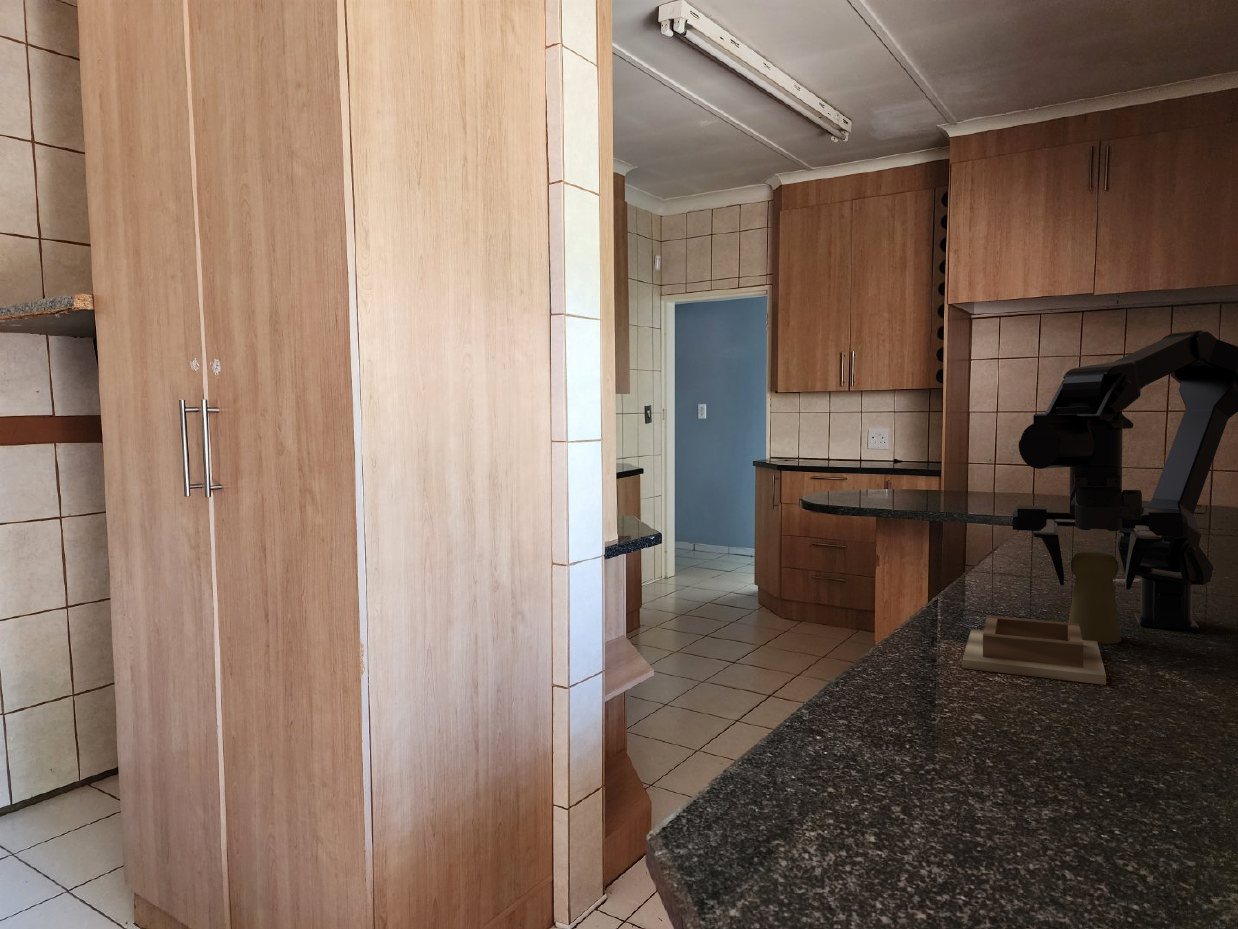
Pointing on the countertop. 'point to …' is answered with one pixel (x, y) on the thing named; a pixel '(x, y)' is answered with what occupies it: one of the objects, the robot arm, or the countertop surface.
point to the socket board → (1034, 650)
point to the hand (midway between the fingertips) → (1094, 587)
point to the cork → (1095, 597)
